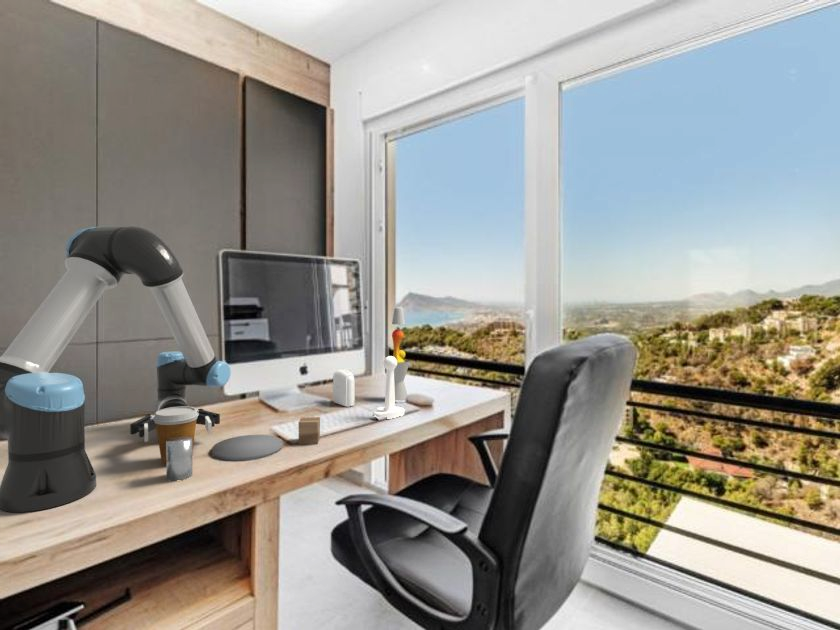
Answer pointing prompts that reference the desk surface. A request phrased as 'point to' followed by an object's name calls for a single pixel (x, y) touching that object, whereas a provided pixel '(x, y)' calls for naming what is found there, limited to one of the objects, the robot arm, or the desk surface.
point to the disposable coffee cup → (174, 425)
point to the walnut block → (309, 430)
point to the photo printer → (344, 388)
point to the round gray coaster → (247, 447)
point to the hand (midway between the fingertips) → (179, 431)
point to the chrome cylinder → (179, 458)
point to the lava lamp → (399, 356)
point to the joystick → (389, 392)
